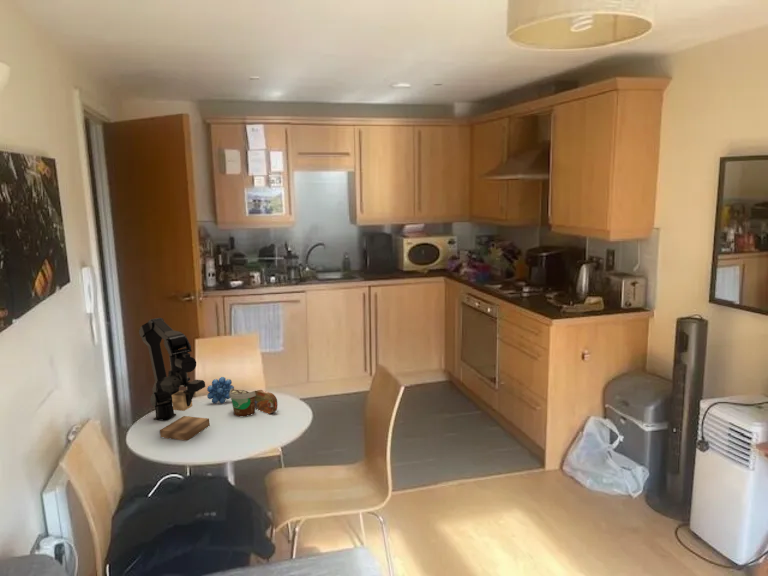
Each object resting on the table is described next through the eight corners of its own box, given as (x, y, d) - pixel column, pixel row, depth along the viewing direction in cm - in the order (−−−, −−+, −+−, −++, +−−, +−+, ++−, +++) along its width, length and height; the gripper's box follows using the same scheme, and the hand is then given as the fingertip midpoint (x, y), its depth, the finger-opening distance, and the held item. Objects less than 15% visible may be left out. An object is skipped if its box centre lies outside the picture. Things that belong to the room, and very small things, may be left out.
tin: (251, 408, 245) (250, 389, 244) (257, 405, 248) (256, 387, 246) (273, 416, 235) (271, 396, 234) (279, 413, 237) (278, 394, 236)
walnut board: (160, 437, 219) (159, 430, 219) (184, 422, 232) (183, 415, 232) (187, 440, 215) (186, 433, 215) (209, 425, 228) (209, 418, 228)
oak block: (173, 409, 221) (171, 394, 219) (181, 405, 225) (180, 390, 224) (184, 411, 219) (182, 395, 218) (192, 406, 224) (190, 391, 223)
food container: (224, 415, 239) (222, 392, 237) (234, 409, 244) (232, 387, 242) (247, 419, 233) (245, 395, 231) (257, 413, 238) (255, 390, 236)
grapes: (236, 398, 257) (234, 372, 255) (234, 404, 250) (232, 377, 248) (209, 401, 256) (207, 375, 253) (207, 406, 249) (204, 380, 247)
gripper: (143, 371, 215) (148, 411, 217) (185, 375, 209) (189, 415, 211) (163, 362, 225) (168, 400, 228) (204, 365, 219) (208, 404, 222)
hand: (182, 405), depth 222 cm, fingers closed on oak block, 5 cm apart
